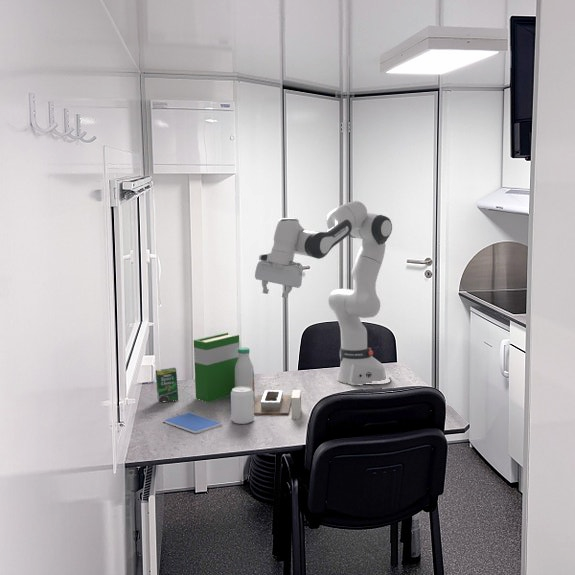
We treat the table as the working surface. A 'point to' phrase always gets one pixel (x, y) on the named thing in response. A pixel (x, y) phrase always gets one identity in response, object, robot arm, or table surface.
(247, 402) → the beverage can
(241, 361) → the milk bottle
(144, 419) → the table surface
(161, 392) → the coffee box
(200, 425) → the tablet computer
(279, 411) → the track board
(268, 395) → the bottom track
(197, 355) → the hardback book
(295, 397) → the door panel
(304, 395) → the table surface
